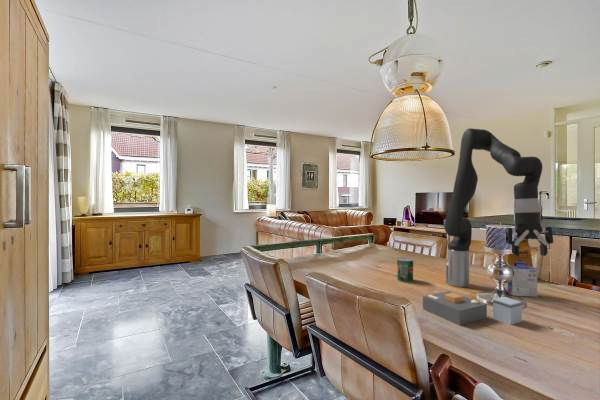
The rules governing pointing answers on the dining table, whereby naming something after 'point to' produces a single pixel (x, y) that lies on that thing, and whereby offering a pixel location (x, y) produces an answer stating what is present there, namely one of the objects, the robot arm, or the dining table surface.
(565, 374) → the dining table surface
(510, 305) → the cap
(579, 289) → the dining table surface
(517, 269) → the ink cartridge box
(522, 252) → the coffee package
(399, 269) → the canned tomato
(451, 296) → the breaker button
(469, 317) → the box
